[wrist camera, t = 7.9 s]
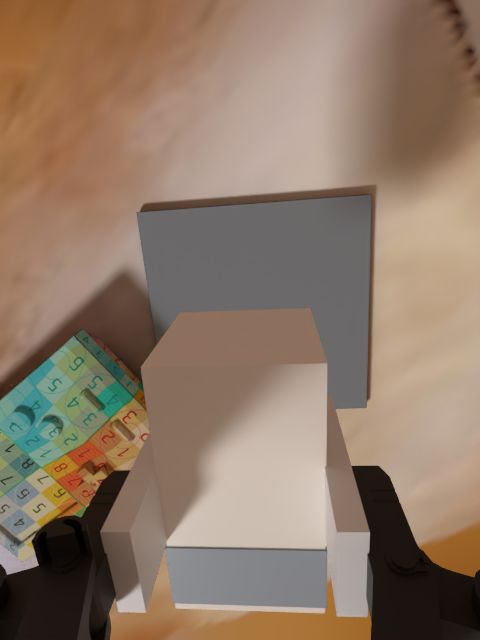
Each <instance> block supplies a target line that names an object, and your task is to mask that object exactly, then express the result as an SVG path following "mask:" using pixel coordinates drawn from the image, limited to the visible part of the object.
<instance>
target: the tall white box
mask: <svg viewBox="0 0 480 640" xmlns="http://www.w3.org/2000/svg"><path fill="white" fill-rule="evenodd" d="M140 368H141V374H142V381H143V388H144V395H145V402H146V408H147V415H148V422H149V429H150V435H151V442H152V449H153V456H154V463H155V469H156V476H157V482H158V488H159V494H160V500H161V506H162V512H163V518H164V524H165V529H166V535H167V543H166V547H165V552H166V558H167V565H168V572H169V579H170V585H171V592H172V599H173V603H175V605H176V608H180V609H211V610H241V611H272V612H275V611H276V612H303V613H325V608H327V546H326V529H325V467H326V449H327V361H326V357H325V354H324V351H323V348H322V344H321V341H320V338H319V335H318V331H317V328H316V325H315V322H314V318H313V315H312V312H311V309H310V308H299V309H269V310H239V311H209V312H180V313H179V315H178V316H177V317H176V319H175V320H174V322H173V323H172V324H171V326H170V327H169V328H168V330H167V331H166V333H165V334H164V335H163V337H162V338H161V340H160V341H159V342H158V344H157V345H156V347H155V348H154V349H153V351H152V352H151V353H150V355H149V356H148V358H147V359H146V360H145V362H144V363H143V365H142V366H141V367H140Z"/></svg>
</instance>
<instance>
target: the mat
mask: <svg viewBox="0 0 480 640" xmlns="http://www.w3.org/2000/svg"><path fill="white" fill-rule="evenodd" d="M137 219H138V226H139V232H140V239H141V246H142V252H143V259H144V266H145V272H146V279H147V286H148V292H149V299H150V306H151V312H152V319H153V326H154V332H155V339H156V345H157V344H158V342H159V341H160V340H161V338H162V337H163V335H164V334H165V333H166V331H167V330H168V328H169V327H170V326H171V324H172V323H173V322H174V320H175V319H176V317H177V316H178V315H179V313H180V312H209V311H239V310H269V309H299V308H310V309H311V312H312V315H313V318H314V322H315V325H316V328H317V331H318V335H319V338H320V341H321V344H322V348H323V351H324V354H325V357H326V361H327V394H331V395H332V399H333V402H334V406H335V409H347V408H366V407H367V365H368V322H369V280H370V237H371V195H357V196H344V197H331V198H318V199H305V200H292V201H278V202H265V203H252V204H239V205H226V206H213V207H199V208H186V209H173V210H160V211H147V212H137Z"/></svg>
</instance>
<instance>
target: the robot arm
mask: <svg viewBox="0 0 480 640" xmlns="http://www.w3.org/2000/svg"><path fill="white" fill-rule="evenodd" d="M325 529H326V546H327V553H328V560H329V566H330V573H331V580H332V585H333V593H334V599H335V606H336V613H337V616H343V617H344V616H345V617H367V614H368V607H369V612H370V616H371V620H372V627H371V640H480V570H479V571H478V572H476V574H475V578H474V577H470V576H467V575H463V574H460V573H456V572H453V571H450V570H447V569H444V568H442V567H440V566H439V565H437V564H435V563H433V562H432V561H431V560H430V559H429V557H428V556H427V555H426V554H425V553H424V551H422V550H421V549H419V547H418V545H417V544H416V542H415V539H414V537H413V534H412V532H411V529H410V527H409V524H408V522H407V519H406V517H405V514H404V512H403V509H402V507H401V504H400V503H399V499H398V497H397V494H396V492H395V489H394V487H393V484H392V482H391V479H390V477H389V476H388V475H387V474H386V473H385V472H384V471H383V470H382V469H381V468H380V467H379V466H351V463H350V459H349V456H348V452H347V449H346V445H345V442H344V438H343V435H342V431H341V427H340V424H339V420H338V417H337V413H336V410H335V406H334V402H333V399H332V395H331V394H327V449H326V467H325ZM166 543H167V535H166V529H165V524H164V518H163V512H162V506H161V500H160V494H159V488H158V482H157V476H156V469H155V463H154V456H153V449H152V442H151V435H150V432H149V434H148V436H147V438H146V440H145V442H144V444H143V446H142V448H141V450H140V452H139V454H138V456H137V458H136V460H135V462H134V464H133V466H132V468H131V470H114V471H113V472H112V473H111V474H109V475H108V476H107V477H106V478H105V479H104V480H103V481H102V482H101V484H100V485H99V487H98V489H97V491H96V492H95V496H93V498H92V499H91V501H90V503H89V506H87V508H86V510H85V512H84V513H83V515H82V517H79V516H76V515H71V516H63V517H60V518H57V519H54V520H53V521H51V522H49V523H47V524H46V525H44V526H43V527H42V528H41V529H40V530H39V531H38V532H37V533H36V534H35V536H34V538H33V539H32V544H33V548H34V551H35V554H36V557H37V561H38V564H39V566H37V567H34V568H31V569H27V570H24V571H20V572H17V573H13V574H9V575H7V574H6V571H5V569H4V568H3V567H2V565H1V564H0V640H110V633H111V622H110V616H109V612H110V609H111V607H112V604H113V601H114V599H116V603H117V607H118V612H146V611H147V607H148V604H149V601H150V597H151V594H152V590H153V587H154V584H155V580H156V577H157V574H158V570H159V567H160V563H161V560H162V557H163V553H164V550H165V546H166Z"/></svg>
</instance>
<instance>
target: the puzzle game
mask: <svg viewBox="0 0 480 640" xmlns="http://www.w3.org/2000/svg"><path fill="white" fill-rule="evenodd" d="M149 432H150V429H149V422H148V415H147V408H146V402H145V395H144V388H143V384H142V383H141V382H140V381H139V380H138V379H137V377H136V376H135V375H134V374H133V373H132V372H131V371H130V370H129V369H128V368H127V367H126V366H125V365H124V364H123V363H122V362H121V361H120V360H119V359H118V358H117V357H116V356H115V354H114V353H113V352H112V351H111V350H110V349H109V348H108V347H107V346H106V345H105V344H104V343H103V342H102V341H101V340H100V339H98V338H96V337H94V336H92V335H90V334H88V333H87V332H86V331H85V330H83V329H81V330H80V331H79V332H78V333H76V334H75V335H74V336H73V337H71V338H70V339H69V340H68V341H67V342H66V343H65V344H63V345H62V346H61V347H60V348H59V349H58V350H57V351H55V352H54V353H53V354H52V355H51V356H50V357H49V358H47V359H46V360H45V361H44V362H43V363H42V364H41V365H39V366H38V367H37V368H36V369H35V370H34V371H33V372H31V373H30V374H29V375H28V376H27V377H26V378H25V379H23V380H22V381H21V382H20V383H19V384H18V385H17V386H15V387H14V388H13V389H12V390H11V391H10V392H8V393H7V394H6V395H5V396H4V397H3V398H2V399H0V544H2V545H3V546H4V547H5V548H6V549H8V550H9V551H10V552H11V553H12V554H13V555H15V556H16V557H17V558H18V559H19V560H21V561H22V562H24V561H25V560H27V559H28V558H30V557H31V556H33V555H35V551H34V548H33V544H32V539H33V538H34V536H35V534H36V533H37V532H38V531H39V530H40V529H41V528H42V527H43V526H44V525H46V524H47V523H49V522H51V521H53V520H54V519H57V518H60V517H63V516H71V515H76V516H79V517H82V515H83V513H84V512H85V510H86V508H87V506H89V503H90V501H91V499H92V498H93V496H95V492H96V491H97V489H98V487H99V485H100V484H101V482H102V481H103V480H104V479H105V478H106V477H107V476H108V475H109V474H111V473H112V472H113V471H114V470H131V468H132V466H133V464H134V462H135V460H136V458H137V456H138V454H139V452H140V450H141V448H142V446H143V444H144V442H145V440H146V438H147V436H148V434H149Z"/></svg>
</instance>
